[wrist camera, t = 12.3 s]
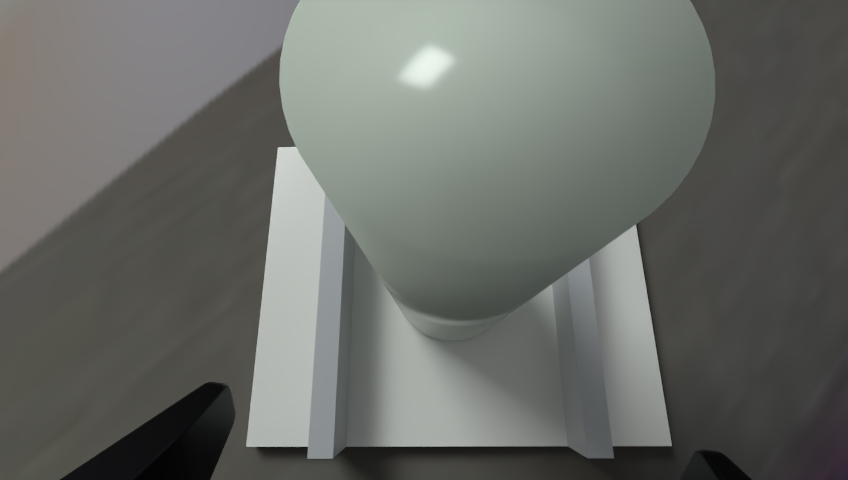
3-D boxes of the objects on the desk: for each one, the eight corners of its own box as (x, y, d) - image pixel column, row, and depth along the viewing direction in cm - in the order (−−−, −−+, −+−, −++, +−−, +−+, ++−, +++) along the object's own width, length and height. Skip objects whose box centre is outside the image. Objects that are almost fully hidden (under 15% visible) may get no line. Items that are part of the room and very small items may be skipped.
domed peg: (514, 340, 16) (764, 260, 4) (392, 341, 16) (257, 266, 4) (506, 225, 17) (671, -107, 5) (394, 226, 17) (297, -94, 5)
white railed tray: (663, 442, 15) (707, 458, 13) (253, 443, 15) (218, 458, 13) (616, 147, 19) (644, 113, 16) (283, 154, 19) (259, 122, 16)
